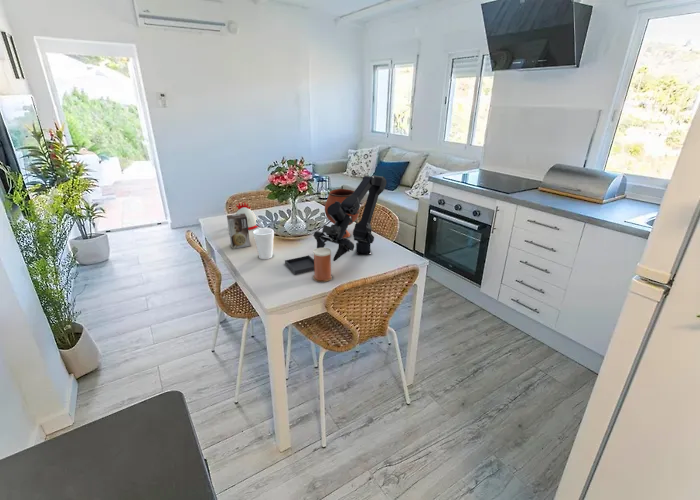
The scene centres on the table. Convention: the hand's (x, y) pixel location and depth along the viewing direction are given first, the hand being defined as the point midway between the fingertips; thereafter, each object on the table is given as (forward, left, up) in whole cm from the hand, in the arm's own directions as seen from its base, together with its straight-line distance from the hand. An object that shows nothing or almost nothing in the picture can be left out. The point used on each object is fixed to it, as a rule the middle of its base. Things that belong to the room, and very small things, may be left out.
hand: (325, 258), depth 148 cm
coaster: (+1, +1, -9) cm, 9 cm away
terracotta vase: (-11, -48, -9) cm, 50 cm away
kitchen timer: (+45, -66, -9) cm, 81 cm away
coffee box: (+43, -37, -9) cm, 57 cm away
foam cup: (+28, -22, -9) cm, 37 cm away
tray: (+10, -10, -9) cm, 17 cm away
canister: (+1, +2, -8) cm, 8 cm away
